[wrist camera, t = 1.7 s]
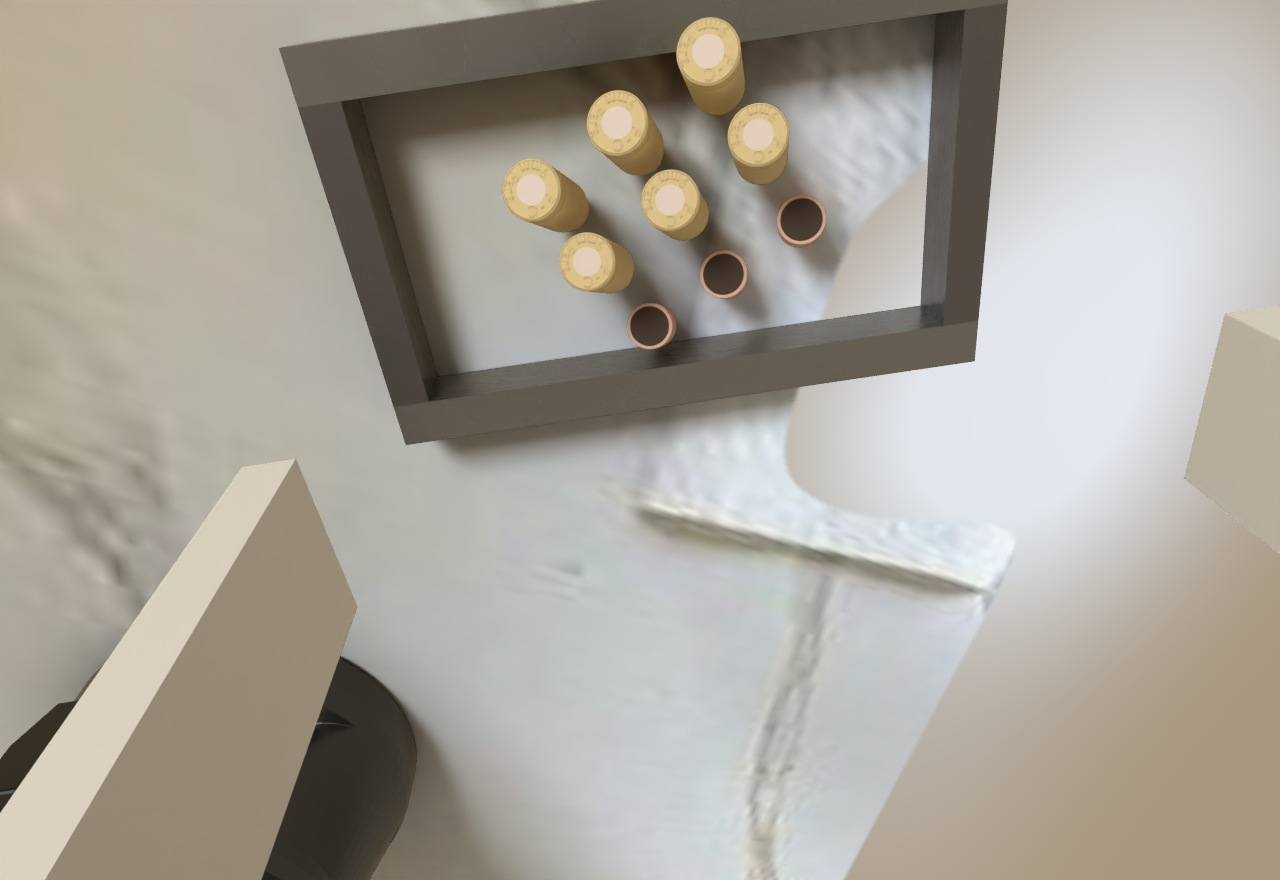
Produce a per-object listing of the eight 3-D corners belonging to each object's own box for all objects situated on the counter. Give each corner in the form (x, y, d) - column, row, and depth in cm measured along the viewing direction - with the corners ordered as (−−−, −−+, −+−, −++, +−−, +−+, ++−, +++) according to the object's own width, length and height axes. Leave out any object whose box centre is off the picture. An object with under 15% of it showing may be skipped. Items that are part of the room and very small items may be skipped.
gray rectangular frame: (950, 339, 29) (974, 360, 28) (415, 418, 29) (405, 444, 28) (980, -57, 23) (1013, -61, 21) (301, 43, 23) (278, 47, 21)
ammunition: (488, 189, 21) (660, 402, 24) (721, 2, 19) (870, 261, 23) (502, 157, 25) (646, 343, 29) (694, 2, 23) (823, 220, 27)
